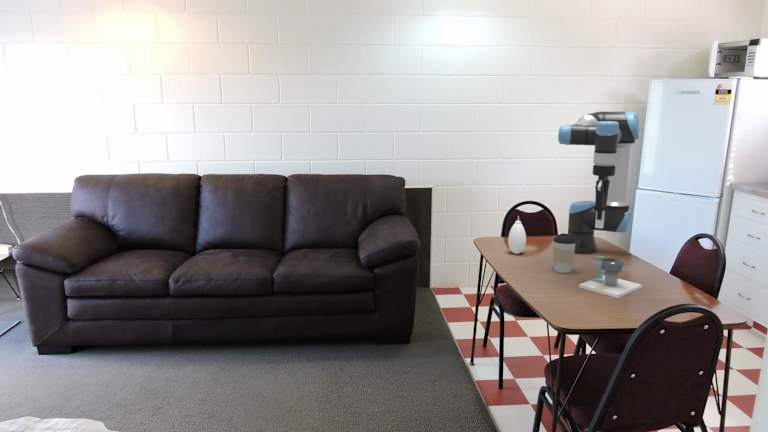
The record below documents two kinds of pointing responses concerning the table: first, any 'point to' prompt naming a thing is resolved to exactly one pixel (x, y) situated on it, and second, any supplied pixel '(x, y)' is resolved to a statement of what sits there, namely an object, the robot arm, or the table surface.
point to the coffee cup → (563, 252)
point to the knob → (610, 264)
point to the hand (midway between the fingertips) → (599, 227)
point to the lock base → (609, 284)
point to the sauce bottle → (517, 238)
